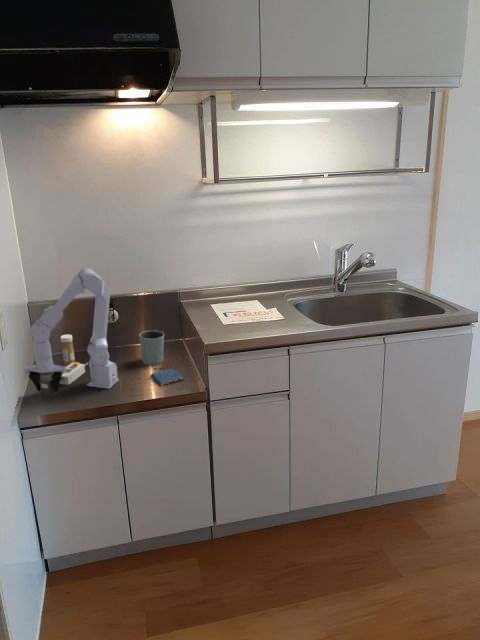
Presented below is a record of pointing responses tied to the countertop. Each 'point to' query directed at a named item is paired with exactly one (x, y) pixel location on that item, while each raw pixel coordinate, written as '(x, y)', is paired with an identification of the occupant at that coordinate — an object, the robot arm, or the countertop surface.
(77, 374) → the power strip
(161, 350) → the teal cup
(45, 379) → the charger
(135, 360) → the countertop surface
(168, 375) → the woven mat
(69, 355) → the sprinkles bottle
